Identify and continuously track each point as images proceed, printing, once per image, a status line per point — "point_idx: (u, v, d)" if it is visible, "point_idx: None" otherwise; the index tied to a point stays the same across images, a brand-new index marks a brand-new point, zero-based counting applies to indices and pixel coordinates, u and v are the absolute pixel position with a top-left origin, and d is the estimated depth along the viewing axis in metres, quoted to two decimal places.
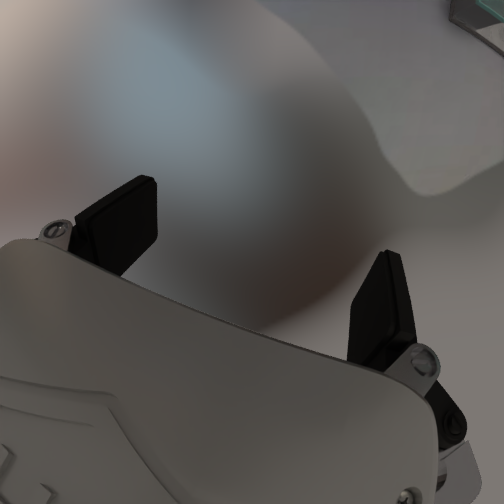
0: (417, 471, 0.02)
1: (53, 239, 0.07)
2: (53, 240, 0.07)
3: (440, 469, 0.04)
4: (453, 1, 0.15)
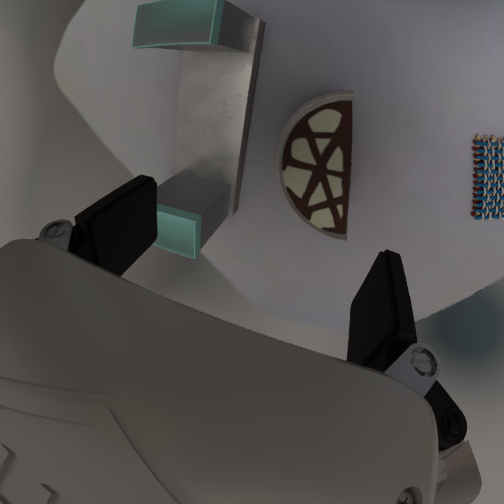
0: (417, 471, 0.02)
1: (53, 239, 0.07)
2: (53, 240, 0.07)
3: (440, 469, 0.04)
4: None
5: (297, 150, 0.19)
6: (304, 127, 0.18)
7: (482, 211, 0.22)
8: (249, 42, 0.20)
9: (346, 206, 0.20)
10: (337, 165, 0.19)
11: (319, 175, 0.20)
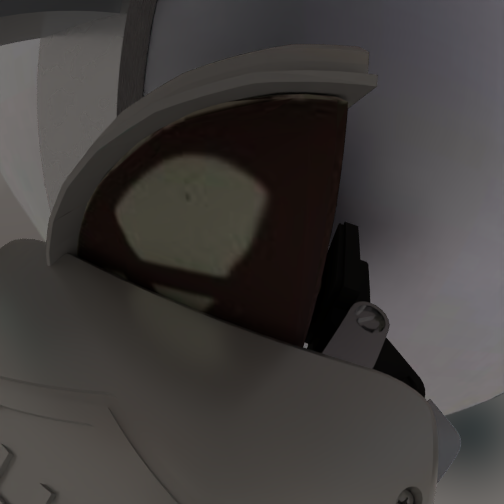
0: (417, 471, 0.02)
1: None
2: None
3: None
4: None
5: None
6: (110, 236, 0.04)
7: None
8: None
9: None
10: None
11: None
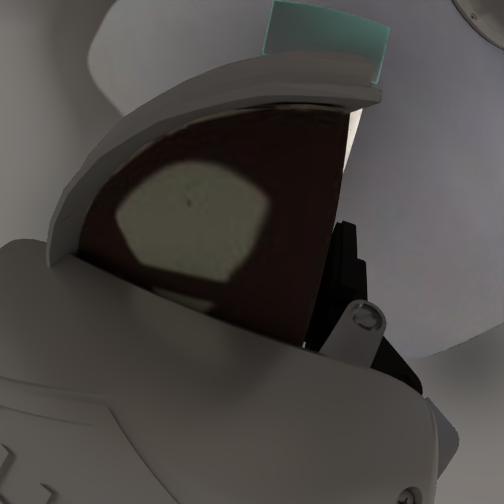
0: (417, 471, 0.02)
1: None
2: None
3: None
4: None
5: None
6: (110, 240, 0.04)
7: None
8: None
9: None
10: None
11: None
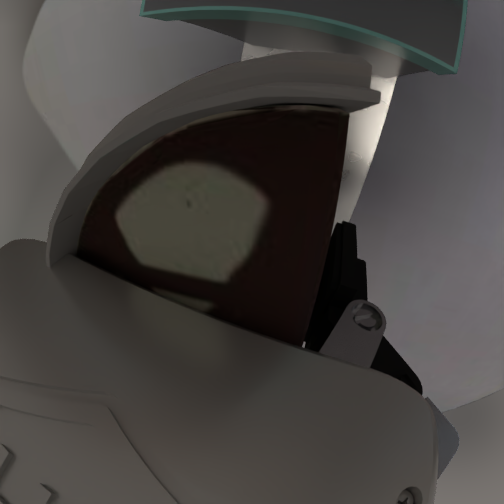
0: (417, 471, 0.02)
1: None
2: None
3: None
4: None
5: None
6: (110, 240, 0.04)
7: None
8: None
9: None
10: None
11: None
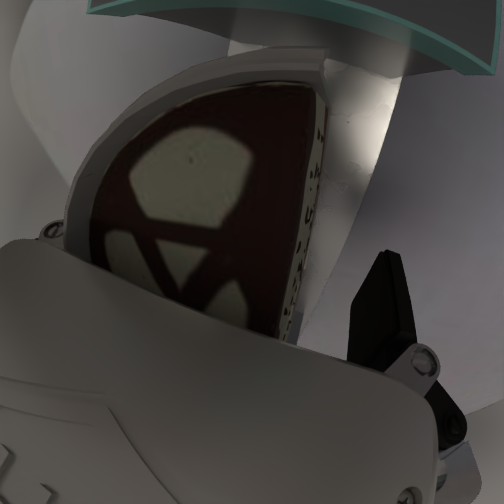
0: (417, 471, 0.02)
1: (53, 239, 0.07)
2: (53, 240, 0.07)
3: (440, 469, 0.04)
4: None
5: (120, 262, 0.06)
6: (122, 198, 0.05)
7: None
8: None
9: None
10: None
11: None
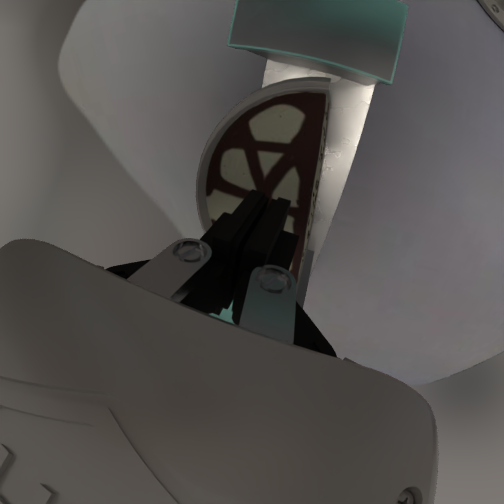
0: (417, 471, 0.02)
1: (178, 261, 0.07)
2: (177, 262, 0.07)
3: None
4: None
5: (229, 167, 0.13)
6: (242, 132, 0.11)
7: None
8: None
9: (298, 257, 0.14)
10: (288, 197, 0.12)
11: None
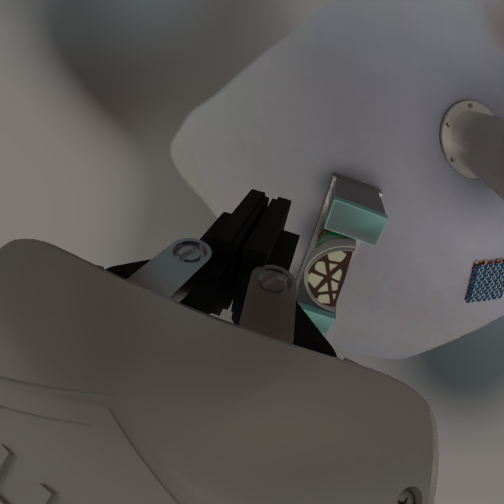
0: (417, 471, 0.02)
1: (178, 261, 0.07)
2: (177, 262, 0.07)
3: None
4: (355, 182, 0.39)
5: (318, 266, 0.37)
6: (325, 257, 0.36)
7: (471, 298, 0.42)
8: None
9: (337, 295, 0.39)
10: (337, 277, 0.37)
11: (327, 280, 0.38)
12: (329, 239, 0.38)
